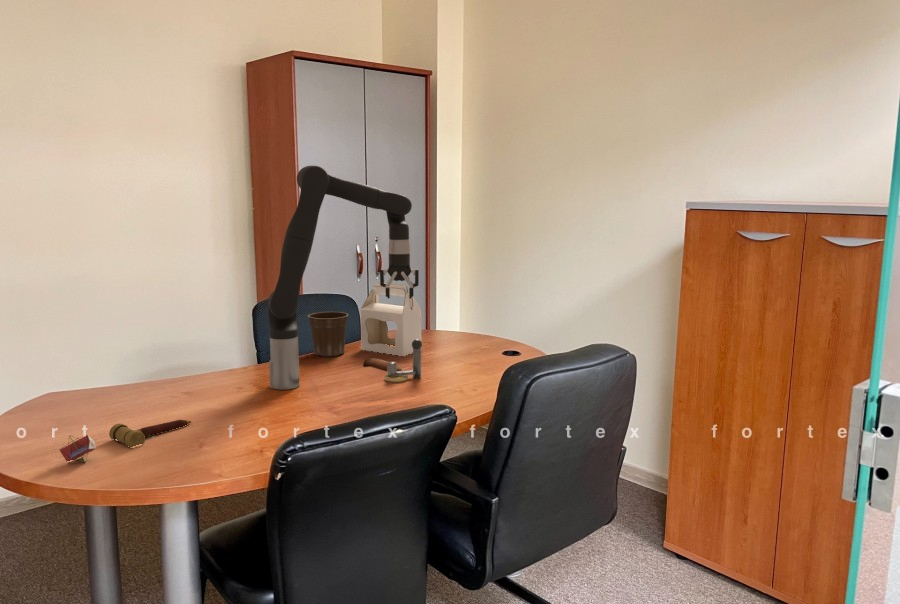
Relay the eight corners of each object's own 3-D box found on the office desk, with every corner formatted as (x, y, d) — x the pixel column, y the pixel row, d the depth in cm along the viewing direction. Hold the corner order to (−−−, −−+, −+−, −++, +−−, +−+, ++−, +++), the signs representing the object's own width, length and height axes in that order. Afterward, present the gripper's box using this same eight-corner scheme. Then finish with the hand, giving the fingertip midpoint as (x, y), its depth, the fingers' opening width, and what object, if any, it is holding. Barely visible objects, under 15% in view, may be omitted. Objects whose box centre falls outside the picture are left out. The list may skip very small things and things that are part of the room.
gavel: (181, 410, 197) (201, 417, 191) (181, 425, 198) (201, 433, 192) (108, 425, 180) (128, 433, 174) (108, 442, 181) (128, 450, 175)
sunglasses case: (411, 372, 250) (404, 358, 247) (398, 385, 246) (391, 371, 243) (379, 363, 263) (372, 350, 259) (367, 375, 259) (360, 362, 256)
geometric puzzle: (55, 462, 161) (75, 432, 163) (51, 453, 167) (71, 424, 168) (83, 474, 165) (103, 444, 167) (79, 464, 171) (98, 436, 172)
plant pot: (304, 351, 282) (303, 312, 280) (342, 347, 289) (341, 310, 286) (314, 360, 268) (313, 319, 265) (354, 356, 274) (353, 316, 272)
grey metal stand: (388, 383, 230) (387, 344, 228) (382, 377, 238) (381, 339, 236) (425, 379, 235) (425, 341, 233) (418, 374, 242) (418, 336, 240)
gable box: (360, 350, 285) (359, 283, 280) (380, 344, 296) (379, 280, 291) (403, 357, 273) (403, 288, 269) (422, 350, 284) (422, 284, 280)
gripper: (377, 253, 237) (378, 299, 240) (419, 253, 237) (419, 299, 240) (379, 251, 244) (380, 296, 247) (419, 251, 245) (420, 296, 247)
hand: (399, 298), depth 244 cm, fingers open, 7 cm apart
